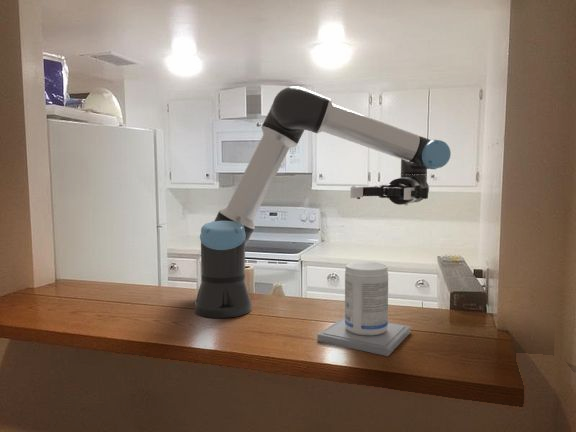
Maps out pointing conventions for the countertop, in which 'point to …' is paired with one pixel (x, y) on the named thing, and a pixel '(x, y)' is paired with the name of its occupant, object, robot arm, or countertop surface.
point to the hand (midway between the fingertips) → (377, 193)
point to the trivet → (365, 338)
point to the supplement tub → (366, 298)
